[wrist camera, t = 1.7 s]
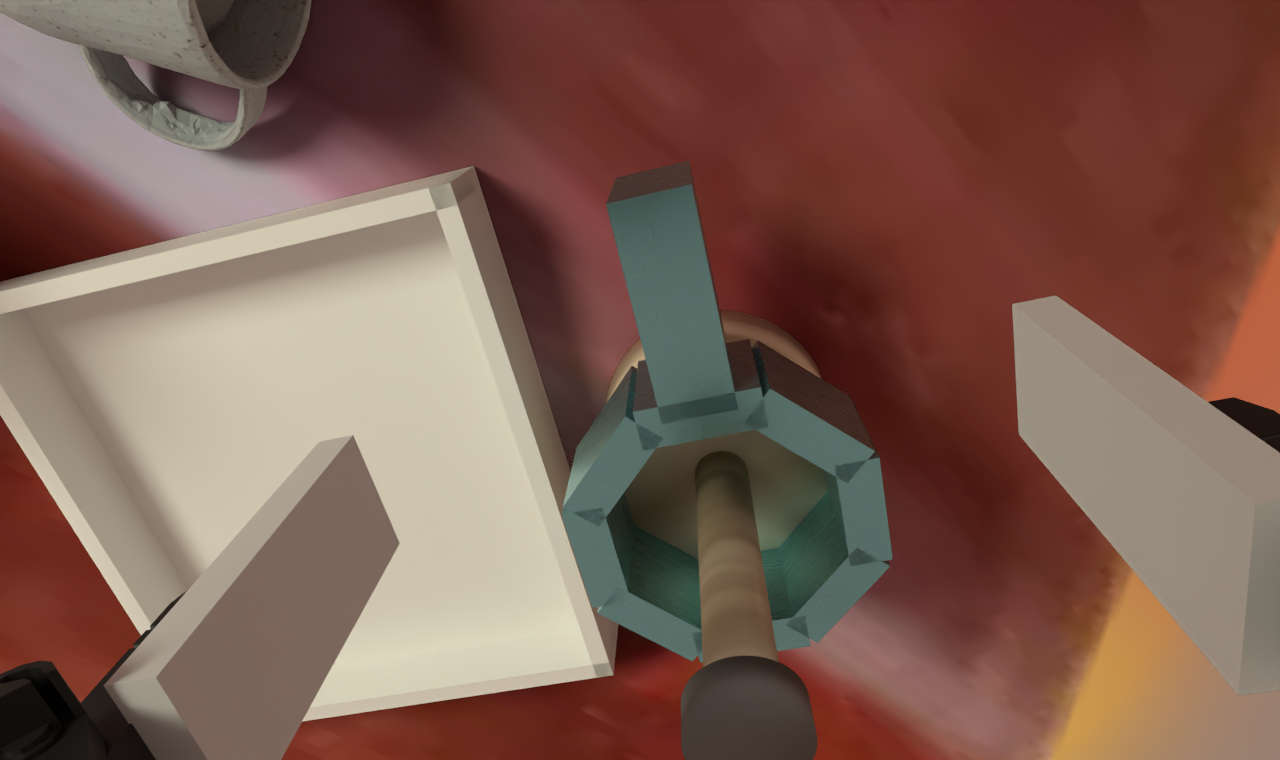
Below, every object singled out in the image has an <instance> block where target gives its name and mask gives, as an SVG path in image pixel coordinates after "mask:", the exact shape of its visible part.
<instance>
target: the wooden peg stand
mask: <svg viewBox="0 0 1280 760" xmlns="http://www.w3.org/2000/svg"><path fill="white" fill-rule="evenodd" d="M720 312H721V317H722V322H723V327H724V332H725V336H726V341H727V343H730V342H735V341H740V340H745V339H750V343H751V347H753V345H754V344H755V343H756V341H757V340H758V341H760V342H762V343H763V344H765V345H767V346H768V347H770V348H772V349H773V350H775V351H776V352H778V353H780V354H781V355H783V356H785V357H786V358H788V359H790V360H791V361H793V362H795V363H796V364H798V365H800V366H801V367H803V368H804V369H806V370H808V371H809V372H811V373H813V374H814V375H816V376H818V377H819V378H821V375H820V373H819V370H818V368H817V366H816V364H815V363H814V361H813V359H812V358H811V356H810V355H809V353H808V352H807V351H806V350H805V348H804V347H803V346H802V345H801V344H800V343H799V342H798V341H797V340H796V339H795V338H794V337H793V336H792V335H790V334H789V333H788V332H786V331H785V330H783V329H782V328H781V327H779V326H777V325H775V324H773V323H771V322H769V321H767V320H765V319H762V318H759V317H757V316H754V315H750V314H746V313H742V312H736V311H726V310H720ZM642 360H646V359H645V355H644V351H643V347H642V343H641V339H639V340H638V341H637V342H636V343H635V344H634V345H633V346H632V347H631V348H630V349H629V350H628V352H627V353H626V354H625V355H624V357H623V358H622V359H621V361H620V363H619V365H618V366H617V368H616V370H615V372H614V374H613V377H612V379H611V382H610V385H609V389H608V394H607V398H606V403H607V402H608V400H609V399H610V397H611V396H612V394H613V393H614V391H615V390H616V388H617V387H618V385H619V384H620V382H621V381H622V379H623V378H624V376H625V375H626V373H627V372H628V370H629V369H630V367H631V366H634V367H635V368H638V361H642ZM821 379H822V378H821ZM827 491H828V490H827V484H826V478H825V472H824V470H823V469H822V468H820V467H818V466H816V465H815V464H813V463H811V462H810V461H808V460H806V459H804V458H803V457H801V456H799V455H798V454H796V453H794V452H792V451H791V450H789V449H787V448H786V447H784V446H782V445H780V444H779V443H777V442H775V441H774V440H772V439H770V438H768V437H767V436H765V435H763V434H761V433H760V432H758V431H756V430H751V431H745V432H740V433H735V434H729V435H724V436H719V437H713V438H708V439H703V440H697V441H692V442H687V443H681V444H676V445H671V446H665V447H660V448H656V449H655V450H654V452H653V453H652V455H651V456H650V457H649V459H648V460H647V462H646V463H645V464H644V466H643V467H642V468H641V470H640V471H639V473H638V474H637V475H636V477H635V478H634V479H633V481H632V482H631V484H630V485H629V486H628V488H627V489H626V490H625V492H624V493H625V496H626V499H627V503H628V506H629V510H630V513H631V517H632V520H633V524H634V525H635V526H637V527H639V528H641V529H643V530H644V531H646V532H648V533H650V534H652V535H654V536H656V537H657V538H659V539H661V540H663V541H665V542H667V543H669V544H671V545H672V546H674V547H676V548H678V549H680V550H682V551H684V552H685V553H687V554H689V555H691V556H693V557H695V558H697V559H699V579H700V602H701V625H702V648H703V668H702V669H700V670H699V671H698V672H696V673H695V674H694V675H693V676H692V677H691V679H690V680H689V681H688V682H687V684H686V686H685V688H684V690H683V693H682V698H681V744H682V752H683V755H684V757H685V760H813V758H814V756H815V753H816V749H817V735H816V730H815V725H814V720H813V715H812V709H811V704H810V699H809V695H808V691H807V688H806V686H805V684H804V683H803V681H802V680H801V678H800V677H799V676H798V675H797V674H796V673H795V672H794V671H792V670H791V669H790V668H788V667H787V666H785V665H783V664H781V663H779V661H778V655H777V649H776V642H775V636H774V630H773V624H772V618H771V612H770V605H769V599H768V593H767V587H766V581H765V574H764V568H763V562H762V556H761V551H762V550H768V549H774V548H779V547H780V546H781V545H782V543H783V542H784V541H785V540H786V539H787V538H788V536H789V535H790V534H791V533H792V532H793V531H794V530H795V528H796V527H797V526H798V525H799V524H800V523H801V521H802V520H803V519H804V518H805V517H806V516H807V514H808V513H809V512H810V511H811V510H812V509H813V507H814V506H815V505H816V504H817V503H818V502H819V500H820V499H821V498H822V497H823V496H824V495H825V494H826V492H827Z"/></svg>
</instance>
